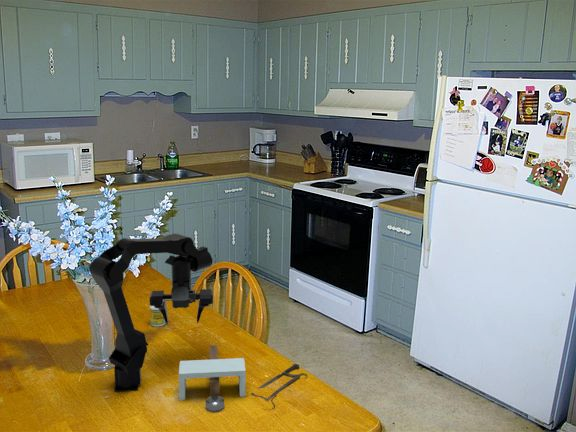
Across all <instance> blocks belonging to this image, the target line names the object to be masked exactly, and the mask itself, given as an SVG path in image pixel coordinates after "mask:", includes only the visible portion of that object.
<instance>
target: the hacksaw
mask: <svg viewBox="0 0 576 432" xmlns="http://www.w3.org/2000/svg"><path fill="white" fill-rule="evenodd" d="M299 368H300V364H297V363H293V364H292V365H291V366H290V367H288V368H287V369H285V370H283V371H282V372H281V373H279V374H277V375H275V376H274V377H272V378H271V379H269V380H268V381H266V382H265V383H263V384H262V385H260V386H258V389H265V387H267V386H269V385H271V384H272V383H273V382H275V381H277V380H279V379H280V378H281V377H283V376H286V377H289V378H291V379H290V380H288V381H287V382H286V383H285V384H283V385H281V386H280V387H279V388H278V389H277V390H275V391H274V392H272V393H271V394H270V395H269V396H268V397H265V396H263V395H258V394H255V393H254V392H252V393H250V396H253V397H257V398H262V399H263V400H265V402H269V401H270V400H271V404H272V405H273V407H272V408H270V409H269V411H271V410H274V409H275V408H276V405H275V403H274V401H273V400H274V399H275V398H276V397H277V396H278V394H279V393H280V392H281V391H283V390H284V389H286V388H288V386H290V385H292V384H294V383H295V382H296V381H297V380H298V379H300V378H301V379H307V376H308V374H307V373H305V372H301V373H298V374H292V373H291V372H293V371H295V370H298V369H299ZM301 375H306V377H303V378H302V377H301ZM263 410H265V411H266V409H265V408H263Z"/></svg>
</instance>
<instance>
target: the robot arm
mask: <svg viewBox="0 0 576 432" xmlns="http://www.w3.org/2000/svg"><path fill="white" fill-rule="evenodd" d="M145 254H171V255H169V257H168V258H167V259H165V261H164V263H165V264H167V265H170V266H171V291H170V293H167V294H166V293H165V290H152V291H151V292H150V294H149V307H150V306H154V307H155V308H158V309H159V310H160V311H161V313H162V315H163V317H164V320H165V322H166V323H165V325H168V324H169V315H168V308H167V302H169V301H172V302H171V303H172V305H171V306H172V308H173V309H179V308H180V309H181V308H183V309H186V308H189V307H190V304H193V303H196V301H198V306H197V312H196V324H198V323H200V319H201V316H202V313H203V311H204V310H205V308H206V307H209V305H212V304H214V291H213V290H212V289H211V288H209V289H208V288H206V289H204V288H203V289H202V288H201V289H199V292H197V293H196V290H195V289H193V290H192V272H193V273H197V272H198V271H201V270H205V269H208V268H210V267H212V265H213V259H214V258H213V257H212V255H211V253H210V252H209V248H208V246H207V247H206V246H200V247H199V248H197V247H196V245H195V244H194V240H193V238H192V237H189V236H186V235H182V234H179V233H171V234H167V235H165V236H163V237H157V238H156V237H154V238H151V237H150V238H127V237H123V238H121V239H119V240H118V241H117V242H116V243H115V244H114V245H112V246H110V247H109V248H107V249H106V250H104V251H102V252H101V253H100V255H98V256H97V257H96V258H94V259H93V261H92V262H91V263H90V265H89V267H88V268H89V269H88V270H89V273H90V275H91V277H92V279H93V281H94V282H95V284H97V286H98V287H99V288H100V289H101V290H102V292H103V294H104V295H103V296H104V298H105V300H106V303H107V307H108V309H109V310H108V311H109V312H110V316H111V319H112V321H113V325H114V327H115V330H116V337H115V341H114V342H115V348H114V349H113V350H112V352H111V354H110V355H109V357H108V361H109V362H110V364H111V365H114V370H113V371H114V388H113V391H114V392H132V391H134V392H135V391H139V386H140V385H141V384H142V383H141V382H142V368H143V365H144V362H145V357H146V354H147V353H148V347H147V346H148V345H149V343H148V342H147V339H146V335H145V332H142V331H140V330H138V329H136V328H135V326H134V322H133V320H132V317H131V313H130V309H129V307H128V304H127V303H128V302H127V301H126V297H125V294H124V291H123V283H124V279H125V278H124V277H125V276H124V273H125V272H126V271H127V270H128V268H129V267H130V266H131V262H132V260H133V258H134V256H136V255H145ZM175 255H176V256H175ZM119 257H120V258H119ZM117 258H119V259H118V260H117V261H115V260H116V259H117Z"/></svg>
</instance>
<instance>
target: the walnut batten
mask: <svg viewBox="0 0 576 432" xmlns="http://www.w3.org/2000/svg"><path fill="white" fill-rule="evenodd" d="M218 346H219V345H218V344H214V345H212V344H211V345H208V347H209V350H208V351H209V354H208V355H209V360H212V359H219V351H218V350H219V348H218ZM210 396H220V377H209V397H210Z"/></svg>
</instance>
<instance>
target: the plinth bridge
mask: <svg viewBox="0 0 576 432" xmlns="http://www.w3.org/2000/svg"><path fill="white" fill-rule="evenodd" d="M245 363H246V362H245V358H244V357H237V358H234V357H233V358H218V359H212V360H210V359H195V360H193V359H192V360H191V359H190V360H180V361H179V367H178V394H179V395H178V396H179V398H178V399H179V401H185V400H186V392H187V379H202V378H204V379H206V378H210V377H219V378H222V377H223V378H224V377H225V378H226V377H238V388H239V389H238V390H239V398H243V397H246V364H245Z"/></svg>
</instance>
